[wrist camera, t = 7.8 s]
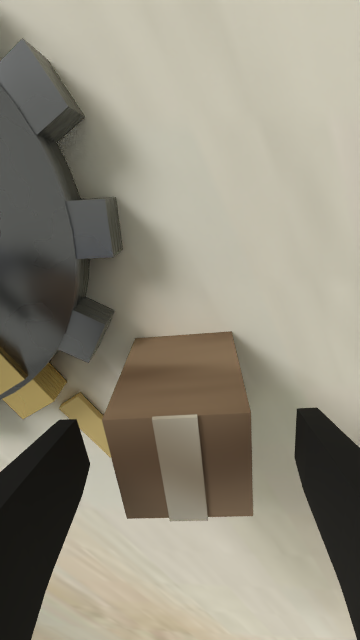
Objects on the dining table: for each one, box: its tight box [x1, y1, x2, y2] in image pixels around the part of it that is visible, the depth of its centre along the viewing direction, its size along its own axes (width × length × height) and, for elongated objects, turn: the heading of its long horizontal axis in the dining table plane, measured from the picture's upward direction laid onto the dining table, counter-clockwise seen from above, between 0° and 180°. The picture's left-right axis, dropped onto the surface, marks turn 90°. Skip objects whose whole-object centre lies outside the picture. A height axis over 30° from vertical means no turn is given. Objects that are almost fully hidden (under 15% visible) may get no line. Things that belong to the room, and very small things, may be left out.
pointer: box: [59, 393, 111, 457], centre depth 15 cm, size 4×1×1 cm, turn 36°
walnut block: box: [102, 332, 253, 521], centre depth 11 cm, size 4×4×5 cm
